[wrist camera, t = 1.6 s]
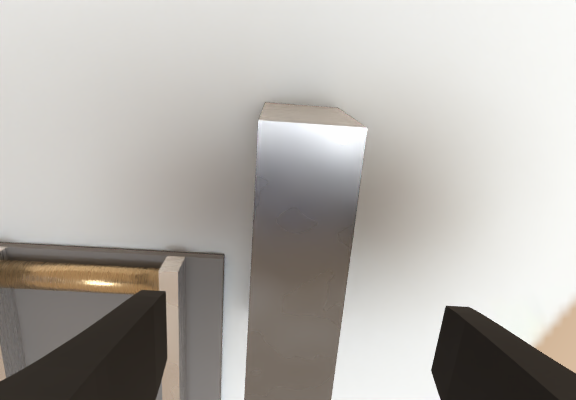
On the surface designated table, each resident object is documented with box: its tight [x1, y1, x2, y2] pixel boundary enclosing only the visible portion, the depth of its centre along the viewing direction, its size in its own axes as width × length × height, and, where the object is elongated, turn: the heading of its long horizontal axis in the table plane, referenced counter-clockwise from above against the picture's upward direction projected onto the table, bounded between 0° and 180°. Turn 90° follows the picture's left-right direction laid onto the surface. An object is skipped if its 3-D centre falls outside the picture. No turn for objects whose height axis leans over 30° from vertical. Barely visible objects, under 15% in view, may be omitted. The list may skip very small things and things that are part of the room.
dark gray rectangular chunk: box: [244, 102, 368, 400], centre depth 15 cm, size 3×10×6 cm, turn 176°
